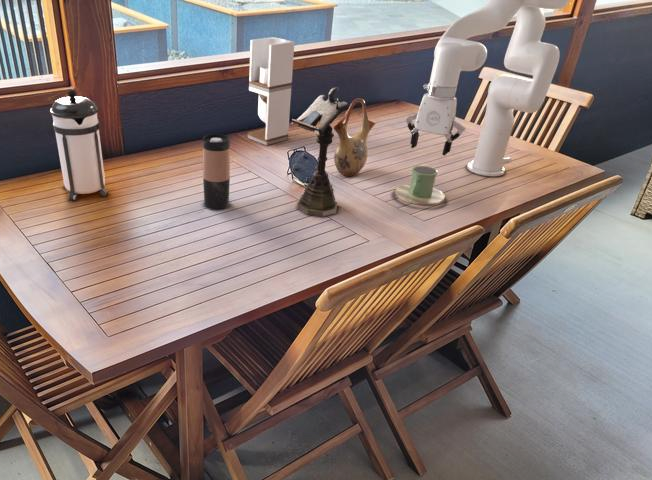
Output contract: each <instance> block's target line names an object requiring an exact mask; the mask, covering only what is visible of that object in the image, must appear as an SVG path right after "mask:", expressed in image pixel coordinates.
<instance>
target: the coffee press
mask: <svg viewBox="0 0 652 480" xmlns="http://www.w3.org/2000/svg"><path fill="white" fill-rule="evenodd" d="M49 112H50V115H51V116H52V121H53V123H52V126H53V131H54V132H55V138H56V139H55V140H56V145H57V150H58V156H59V163H60V168H61V174H62V180H63V188H64V189H65V190H67V191H68V192H69V195H68V199H69V201H76V200H77V197H78V195H88V194H93V193H97V192H98V193H99V194H100V195H101V196H102V197H106V196H107V195H109V190H107V188H106V187H105V185H106V177H105V168H104V161H103V160H104V159H103V153H102V145H101V144H102V143H101V137H100V122H99V119H98V112H99V109H98V106H96V103H95V102H94V100H91V99H89V98H87V97H83V96H77V92H76V91H75V90H74V89H69V90H68V91H67V96H66V97H65V96H64V97H61V98H59V99H57V100H55V101H53V103H52V105H51V108H50V110H49Z"/></svg>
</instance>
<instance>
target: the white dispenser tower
mask: <svg viewBox="0 0 652 480" xmlns="http://www.w3.org/2000/svg"><path fill="white" fill-rule="evenodd" d="M249 43H250V45H249V74H248V75H249V77H248V81H249V82H248V91H249V92H252V93H255V94H258V99H257V100H258V101H257V102H258V105H257V115H258V117H259V120H261V121H262V122H263V123H264V124H265V127H264V128H260V129H257V130H253V131H249V132H247V139H250V140H252V141H254V142H257V143H259V144H263V145H265V146H269V145H273V144H277V143H280V142H284V141H287V140H289V128H290V112H291V98H292V83H293V71H294V58H295V57H294V56H295V55H294V54H295V44H296V43H295V41H293V40H288V39H284V38H279V37H275V36H270V37H262V38H255V39H250V41H249Z"/></svg>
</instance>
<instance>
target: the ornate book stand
mask: <svg viewBox="0 0 652 480" xmlns="http://www.w3.org/2000/svg"><path fill="white" fill-rule="evenodd" d="M339 89H340V88H339V86H338V87H337V86H336V87H332V88H331V89H330V90H329V92H328V99H327V100H325V98H326V95H324V94H320V95H319V96H318V97H317V98H315V100H314V101H313V102H312V104H310V105H309V107H308V108H307V109H306V110H305V111H304V112H303V113H302V114H301V115H300V116H299V117H298V118H296V119H295V118H292V119H291V122H292V123H291V124H290V126H291V127H292V126H293V125H294V124H297V127H299V128H301V129H303V130H305V131H309V132H312V133H315V136H316V140H315V141H316V143H317V144H318V146H319V149H318V156H317V158H316V160H317V169H316V170H315V171H314V172H313V174H312V178H311V179H310V181H309V182H307V184H306V186H305V188H304V191H303V194H301V197H300V198H299V200H298V203H297V210H299V211H301V212H302V213H304V214H306V215H308V216H314V217H327V216H331V215H334V214H336V213H337V208H338V202H337V201H336V197H335V193H334V191H335V190H334V188H333V185H332V184H331V182H330V177H329V173H328V172H327V171H326V166H327V165H326V162H328V159H329V158H328V157H327V155H328V147H329V146H330V145H332V143H333V138H334V137H335V133H334V132H333V131H334V128H333V127H332V126H331V124H333V122H334V121H335V120H337V118H338V117H339V116H340V115H341V114H342V113H343V112H344V111H345V110H346V109H347V107H349V106H348V105H349V104H348V103H347V102H346V101H339V98H338V97H337V98H335V95H336V93H337V92H338V91H339ZM317 125H318V126H317ZM315 131H316V132H315Z"/></svg>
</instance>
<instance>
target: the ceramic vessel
mask: <svg viewBox="0 0 652 480" xmlns="http://www.w3.org/2000/svg"><path fill="white" fill-rule="evenodd" d="M357 103H360V104H361V108H362V121H361V126H360V129H359V130H358V132H356V134H354V135H349V134H348V124H349V120H350V117H351V114H352V111H353V108H354V106H355V105H356V104H357ZM366 107H367V106H366V101H365V100H364V99H363V98H360V97H357V98H355V99H353V101H351V103H350V104H349V106H348V109H347V110H346V112H345V114H344V116H342V118H341V119H340V120H339V121H338V122H337V123H336V125H334V126H333V131H335V132H336V134H337V136H338V140H339V142H338V144H337V146H336V148H335V151H334V156H333V157H334V158H333V161H334V166H335V168H336V170H337V172H339V174H341V175H342V176H344V177H345V176H346V177H351V176H355V175H357V174H358V173H359V172H360V171H361V170H362V169H363V168H364V166H365V165H366V163H367V160H368V156H369V149H368V143H367V139H368V136H369V134H370V131H372V128H373V127H374V126H375V125H376V122H374V121H371V120H369V117H368V112H367V108H366Z"/></svg>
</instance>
